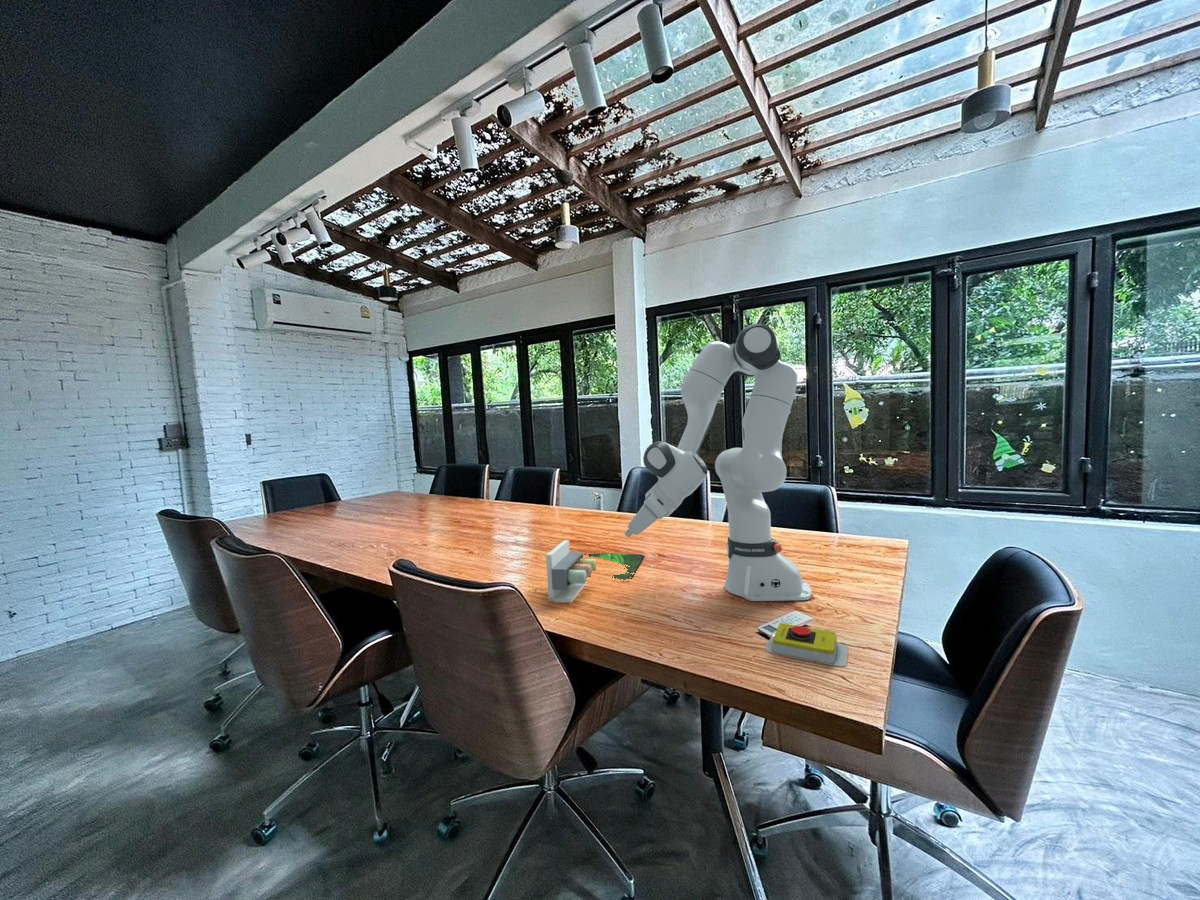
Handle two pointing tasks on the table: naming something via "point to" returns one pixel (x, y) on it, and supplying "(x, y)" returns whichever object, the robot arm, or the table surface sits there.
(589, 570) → the terracotta button
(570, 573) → the sage button
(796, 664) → the table surface
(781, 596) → the robot arm
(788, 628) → the emergency button
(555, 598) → the console
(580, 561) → the mustard button
